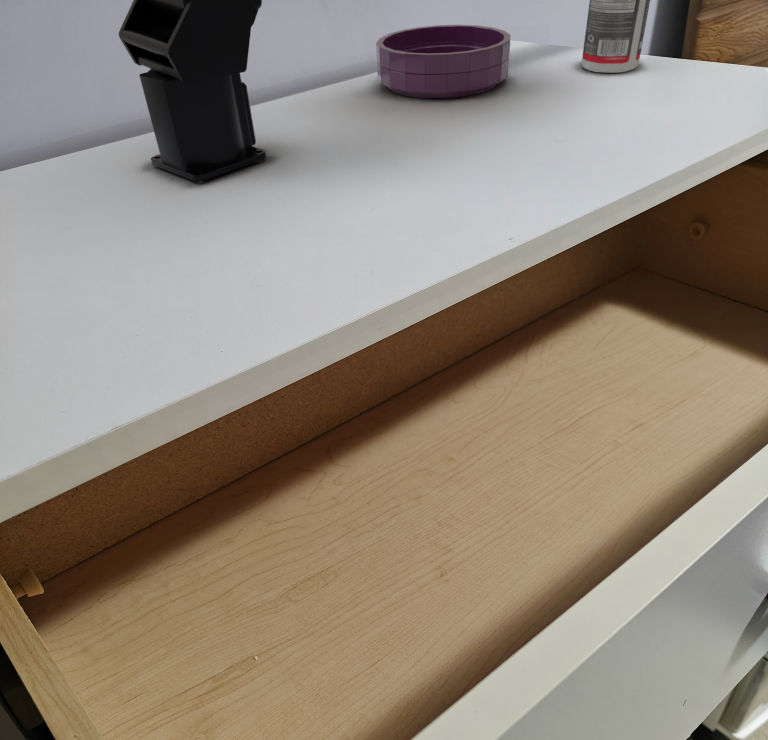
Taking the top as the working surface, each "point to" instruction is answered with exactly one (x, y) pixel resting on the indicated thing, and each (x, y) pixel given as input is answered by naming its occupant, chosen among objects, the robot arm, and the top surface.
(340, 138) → the top surface
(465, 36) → the bowl
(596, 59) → the pill bottle
